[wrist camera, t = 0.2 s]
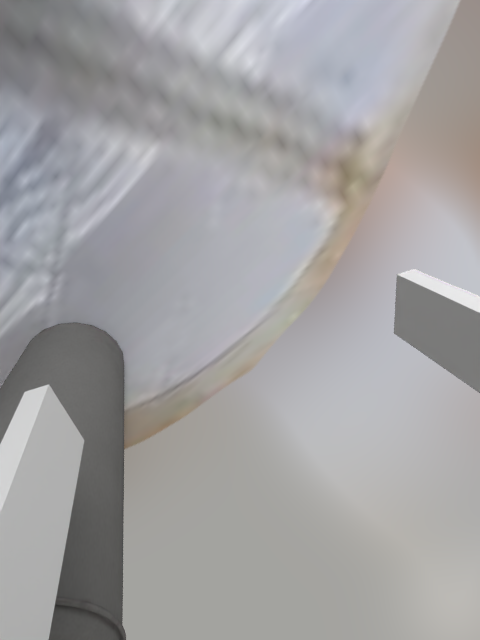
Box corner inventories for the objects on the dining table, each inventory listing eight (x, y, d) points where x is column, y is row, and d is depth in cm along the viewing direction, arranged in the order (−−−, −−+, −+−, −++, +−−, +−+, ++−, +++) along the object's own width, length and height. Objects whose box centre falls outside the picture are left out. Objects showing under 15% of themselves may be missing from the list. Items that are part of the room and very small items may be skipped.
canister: (42, 413, 42) (-195, 1069, 12) (-5, 327, 36) (-736, 1231, 6) (143, 386, 44) (157, 876, 14) (115, 302, 38) (37, 848, 8)
